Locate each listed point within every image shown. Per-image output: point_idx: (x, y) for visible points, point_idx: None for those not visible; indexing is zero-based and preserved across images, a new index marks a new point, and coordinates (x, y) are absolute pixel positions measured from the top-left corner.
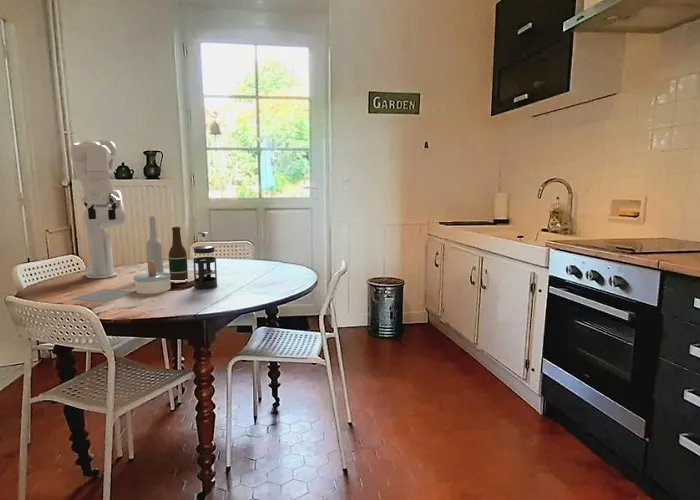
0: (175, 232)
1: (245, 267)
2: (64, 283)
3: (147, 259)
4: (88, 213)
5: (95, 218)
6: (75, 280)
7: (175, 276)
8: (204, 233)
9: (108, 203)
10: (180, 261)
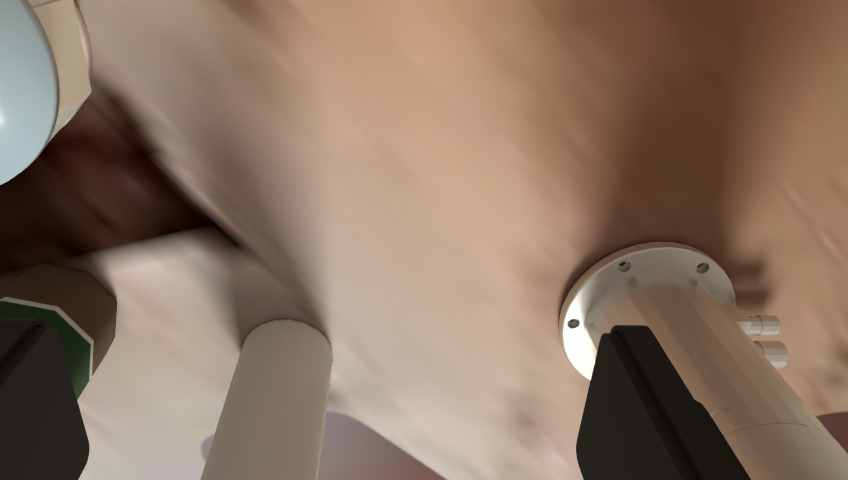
0: None
1: None
2: (763, 93)
3: (298, 414)
4: (695, 416)
5: (577, 439)
6: (740, 182)
7: (14, 286)
8: None
9: None
10: None
